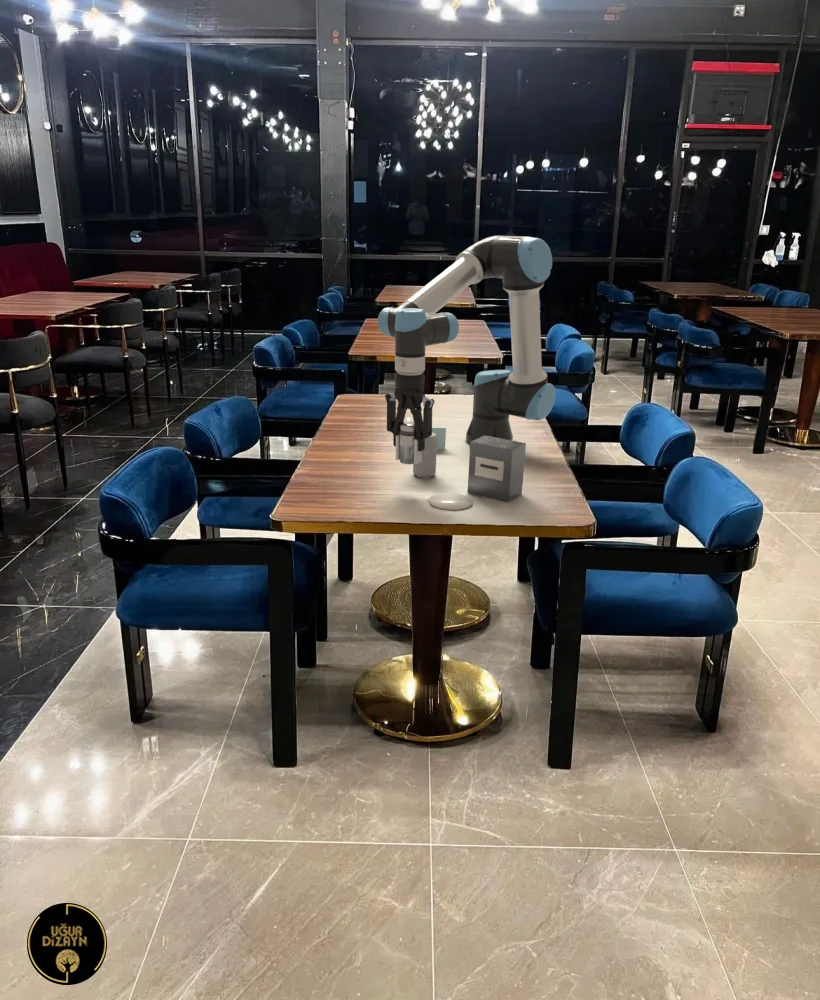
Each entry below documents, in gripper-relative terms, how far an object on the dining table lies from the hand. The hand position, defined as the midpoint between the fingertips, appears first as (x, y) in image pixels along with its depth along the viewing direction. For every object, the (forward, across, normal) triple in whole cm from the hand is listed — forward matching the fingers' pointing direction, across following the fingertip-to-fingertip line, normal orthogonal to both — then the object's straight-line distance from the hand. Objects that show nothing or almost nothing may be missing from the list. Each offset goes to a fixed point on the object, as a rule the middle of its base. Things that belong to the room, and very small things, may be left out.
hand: (408, 460), depth 204 cm
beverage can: (+9, -3, +13) cm, 16 cm away
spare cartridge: (0, 0, 0) cm, 0 cm away
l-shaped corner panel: (+10, -20, +41) cm, 46 cm away
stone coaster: (+8, +14, -2) cm, 16 cm away
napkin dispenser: (+9, +20, +11) cm, 24 cm away
